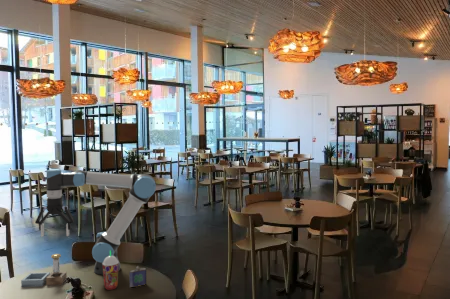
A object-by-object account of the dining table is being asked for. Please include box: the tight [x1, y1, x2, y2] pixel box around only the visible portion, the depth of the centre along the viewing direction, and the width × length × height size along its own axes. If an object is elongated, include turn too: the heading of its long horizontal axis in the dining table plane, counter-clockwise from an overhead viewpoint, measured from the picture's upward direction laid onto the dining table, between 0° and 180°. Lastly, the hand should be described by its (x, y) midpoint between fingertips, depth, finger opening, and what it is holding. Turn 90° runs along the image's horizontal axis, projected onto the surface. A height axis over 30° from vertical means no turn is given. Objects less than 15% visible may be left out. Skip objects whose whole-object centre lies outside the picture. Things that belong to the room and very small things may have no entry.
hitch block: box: [45, 271, 67, 286], centre depth 213 cm, size 8×8×4 cm
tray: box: [20, 272, 51, 288], centre depth 212 cm, size 11×11×4 cm
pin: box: [50, 253, 62, 277], centre depth 213 cm, size 5×5×15 cm
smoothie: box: [102, 251, 120, 291], centre depth 204 cm, size 8×8×20 cm
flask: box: [128, 265, 147, 288], centre depth 206 cm, size 9×3×11 cm, turn 121°
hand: (55, 235), depth 212 cm, fingers open, 13 cm apart
